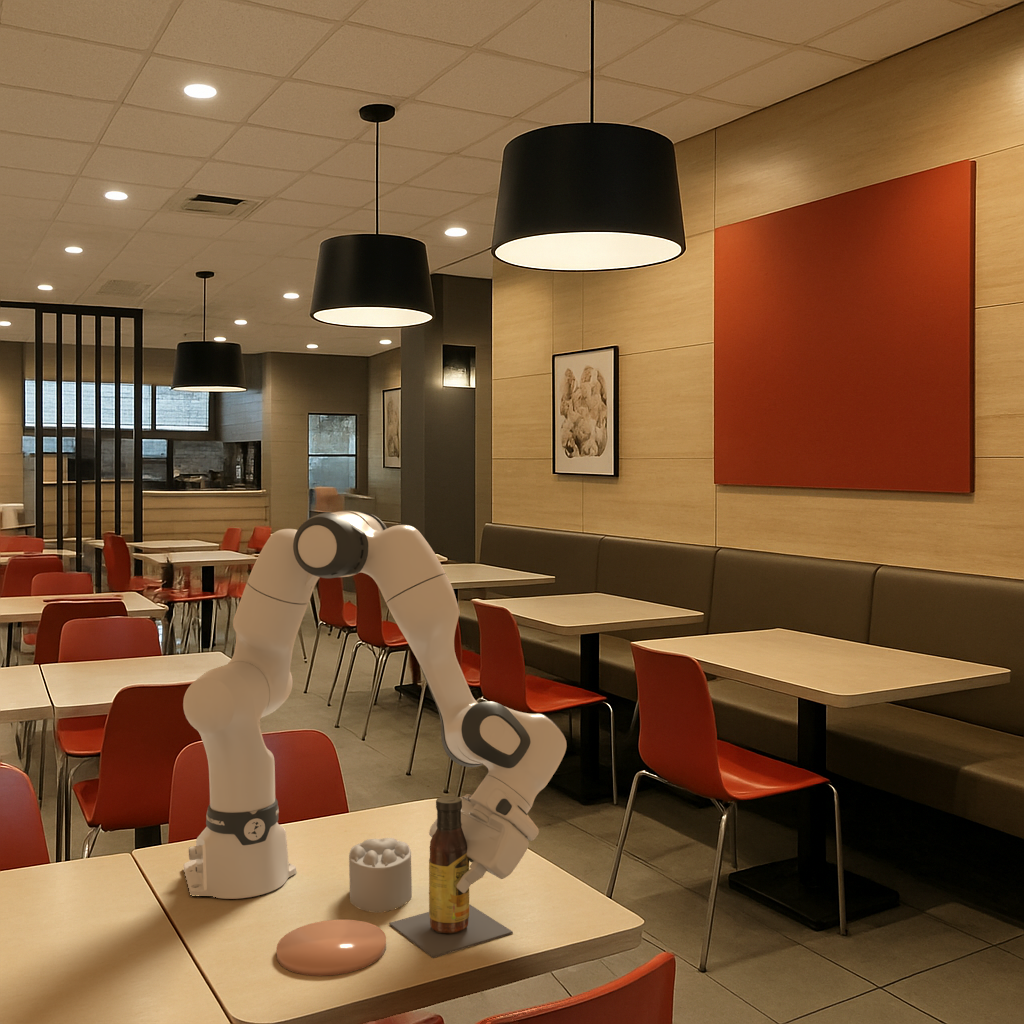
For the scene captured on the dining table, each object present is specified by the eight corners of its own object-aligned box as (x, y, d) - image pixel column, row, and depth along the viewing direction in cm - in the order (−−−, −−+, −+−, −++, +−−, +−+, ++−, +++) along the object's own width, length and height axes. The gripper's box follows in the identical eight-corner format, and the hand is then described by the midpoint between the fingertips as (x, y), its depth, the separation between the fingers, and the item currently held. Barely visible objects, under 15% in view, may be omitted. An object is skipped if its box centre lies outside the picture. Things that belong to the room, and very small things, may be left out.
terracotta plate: (261, 944, 151) (260, 936, 151) (358, 918, 160) (358, 911, 160) (301, 986, 138) (301, 978, 138) (405, 955, 147) (404, 947, 147)
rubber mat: (389, 924, 158) (389, 922, 158) (465, 903, 165) (465, 901, 165) (433, 957, 146) (432, 955, 146) (512, 933, 154) (512, 931, 154)
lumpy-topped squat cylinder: (410, 880, 176) (409, 831, 176) (413, 910, 163) (412, 857, 163) (350, 884, 175) (349, 834, 175) (348, 914, 162) (347, 861, 162)
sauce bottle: (463, 937, 152) (462, 807, 151) (424, 934, 153) (423, 805, 153) (474, 918, 158) (473, 794, 158) (436, 915, 160) (434, 792, 159)
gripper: (452, 780, 168) (401, 851, 163) (521, 811, 151) (466, 891, 146) (475, 802, 171) (426, 872, 165) (545, 835, 154) (493, 914, 148)
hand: (445, 881), depth 155 cm, fingers closed on sauce bottle, 6 cm apart
